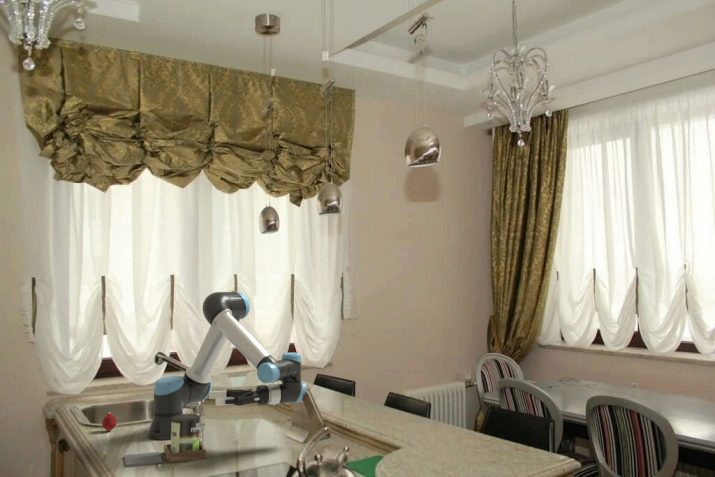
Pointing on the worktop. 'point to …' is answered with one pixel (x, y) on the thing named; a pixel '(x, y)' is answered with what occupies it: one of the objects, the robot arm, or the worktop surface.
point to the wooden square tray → (184, 454)
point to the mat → (142, 459)
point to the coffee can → (185, 433)
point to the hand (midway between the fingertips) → (212, 398)
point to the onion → (109, 422)
